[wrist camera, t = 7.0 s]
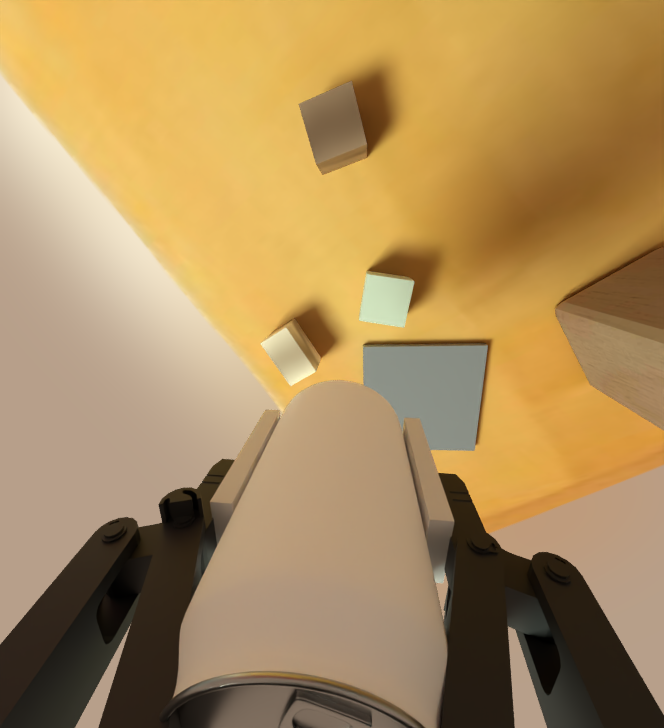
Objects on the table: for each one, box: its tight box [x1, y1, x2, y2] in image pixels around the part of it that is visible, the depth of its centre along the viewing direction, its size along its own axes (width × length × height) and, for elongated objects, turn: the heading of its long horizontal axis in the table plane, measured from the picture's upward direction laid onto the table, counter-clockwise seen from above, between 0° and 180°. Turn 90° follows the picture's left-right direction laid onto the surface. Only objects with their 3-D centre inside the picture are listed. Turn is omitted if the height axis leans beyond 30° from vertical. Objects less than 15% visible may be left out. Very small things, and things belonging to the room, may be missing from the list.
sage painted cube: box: [359, 271, 414, 327], centre depth 29 cm, size 4×4×4 cm
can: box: [159, 380, 448, 728], centre depth 12 cm, size 6×6×12 cm
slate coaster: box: [363, 343, 488, 451], centre depth 34 cm, size 12×12×1 cm
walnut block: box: [299, 81, 367, 175], centre depth 25 cm, size 4×4×4 cm
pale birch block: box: [260, 318, 321, 386], centre depth 32 cm, size 5×3×4 cm, turn 32°
